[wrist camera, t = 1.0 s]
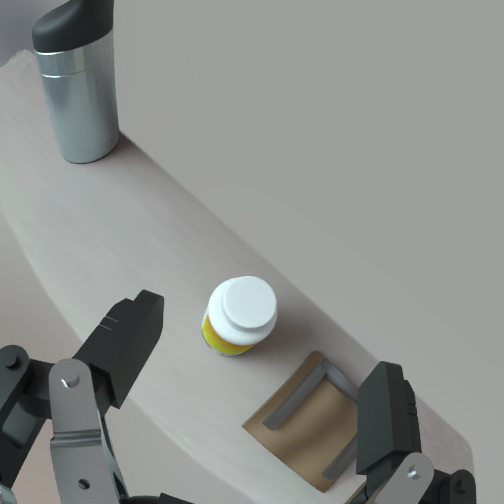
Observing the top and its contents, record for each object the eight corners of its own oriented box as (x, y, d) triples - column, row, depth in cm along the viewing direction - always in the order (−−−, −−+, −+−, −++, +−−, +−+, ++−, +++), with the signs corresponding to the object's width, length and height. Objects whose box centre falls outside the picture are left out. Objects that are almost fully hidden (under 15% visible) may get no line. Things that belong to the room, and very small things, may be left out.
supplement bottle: (251, 360, 30) (284, 345, 21) (196, 351, 29) (205, 331, 20) (257, 309, 32) (290, 273, 24) (205, 299, 32) (218, 258, 23)
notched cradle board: (241, 425, 27) (246, 428, 24) (312, 351, 32) (322, 348, 29) (319, 491, 25) (330, 496, 22) (379, 417, 30) (392, 418, 27)
